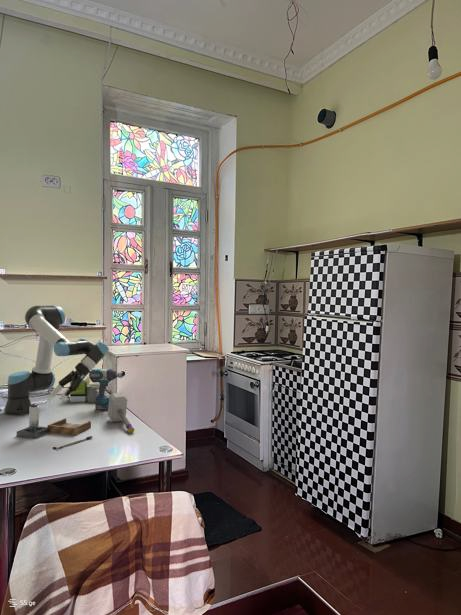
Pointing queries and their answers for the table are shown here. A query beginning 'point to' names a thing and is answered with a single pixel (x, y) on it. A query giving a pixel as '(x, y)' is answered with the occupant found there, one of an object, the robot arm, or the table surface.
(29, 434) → the socket
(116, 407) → the hammer
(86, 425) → the brown wooden tray
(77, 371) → the robot arm
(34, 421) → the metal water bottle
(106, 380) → the impact wrench
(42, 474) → the table surface
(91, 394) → the grey box
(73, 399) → the tea box
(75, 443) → the tan and black strip
